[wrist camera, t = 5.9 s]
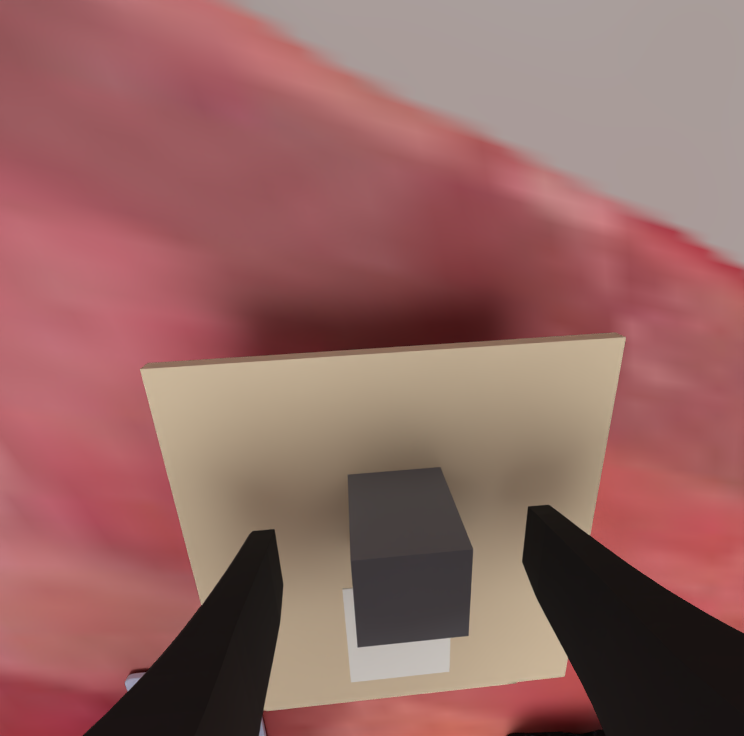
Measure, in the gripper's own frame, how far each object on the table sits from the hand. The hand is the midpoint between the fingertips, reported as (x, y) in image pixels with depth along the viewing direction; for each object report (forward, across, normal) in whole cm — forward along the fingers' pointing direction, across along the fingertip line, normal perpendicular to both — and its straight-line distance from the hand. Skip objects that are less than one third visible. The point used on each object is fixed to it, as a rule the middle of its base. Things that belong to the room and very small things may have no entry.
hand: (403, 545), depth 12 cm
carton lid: (+3, 0, +2) cm, 4 cm away
